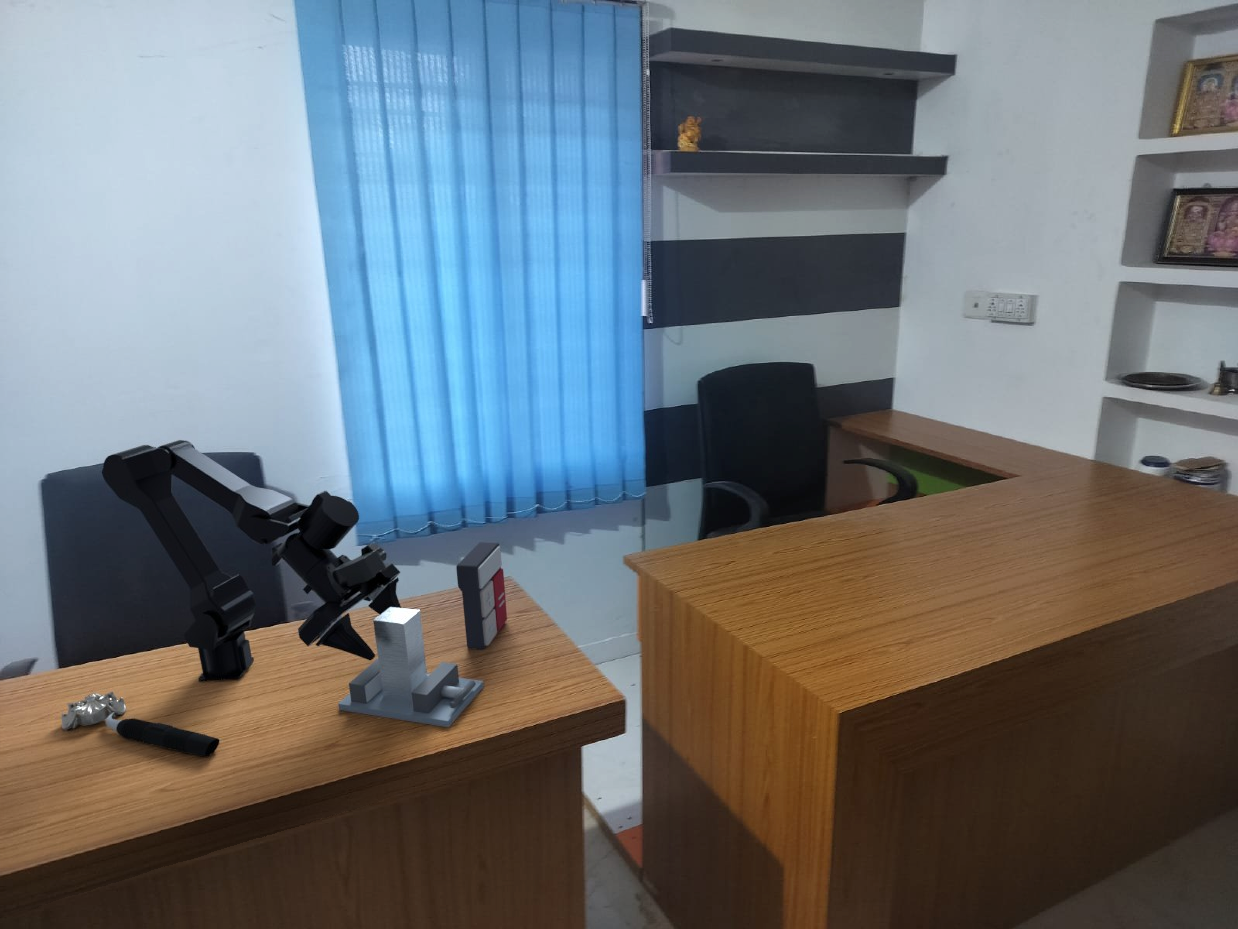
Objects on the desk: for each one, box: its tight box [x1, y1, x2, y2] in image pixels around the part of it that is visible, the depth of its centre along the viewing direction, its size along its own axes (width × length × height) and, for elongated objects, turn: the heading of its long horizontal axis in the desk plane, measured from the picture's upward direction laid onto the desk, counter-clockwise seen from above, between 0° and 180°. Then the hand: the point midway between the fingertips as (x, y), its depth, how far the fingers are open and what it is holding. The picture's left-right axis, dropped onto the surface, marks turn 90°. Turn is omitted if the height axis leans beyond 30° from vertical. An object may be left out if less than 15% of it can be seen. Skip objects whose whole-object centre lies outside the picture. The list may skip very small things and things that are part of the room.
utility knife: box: [105, 712, 220, 758], centre depth 115 cm, size 22×4×3 cm, turn 70°
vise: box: [337, 658, 485, 728], centre depth 123 cm, size 18×11×4 cm, turn 73°
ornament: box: [61, 691, 127, 731], centre depth 121 cm, size 8×7×4 cm
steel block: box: [372, 607, 428, 701], centre depth 122 cm, size 4×5×12 cm
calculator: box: [455, 541, 508, 650], centre depth 140 cm, size 11×4×15 cm, turn 168°
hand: (391, 643), depth 122 cm, fingers open, 9 cm apart
